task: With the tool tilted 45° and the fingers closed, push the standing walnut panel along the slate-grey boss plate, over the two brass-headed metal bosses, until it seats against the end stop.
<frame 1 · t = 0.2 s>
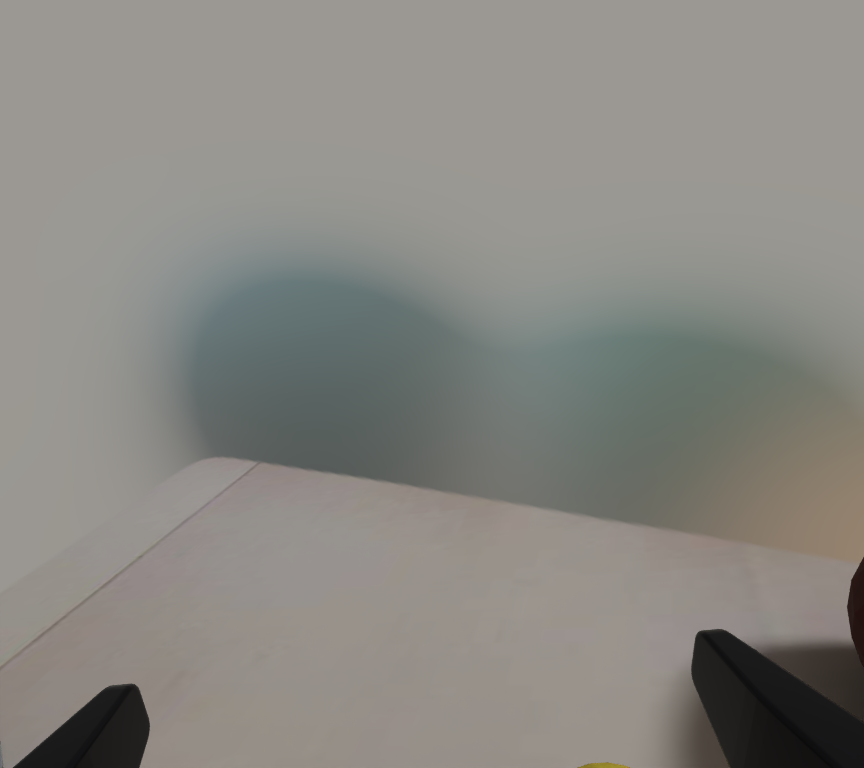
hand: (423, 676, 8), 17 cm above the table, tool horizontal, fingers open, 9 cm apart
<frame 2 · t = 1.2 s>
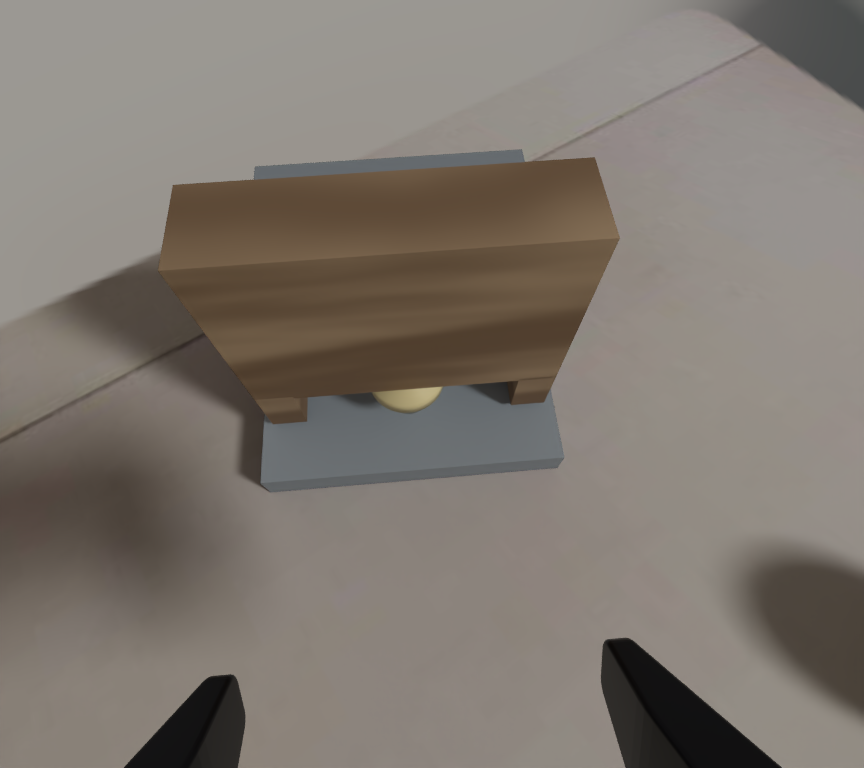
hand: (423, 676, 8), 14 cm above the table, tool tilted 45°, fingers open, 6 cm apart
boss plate: (405, 354, 27), on the table
panel: (400, 318, 19), point 7 cm above the table, slide at 0.0 cm
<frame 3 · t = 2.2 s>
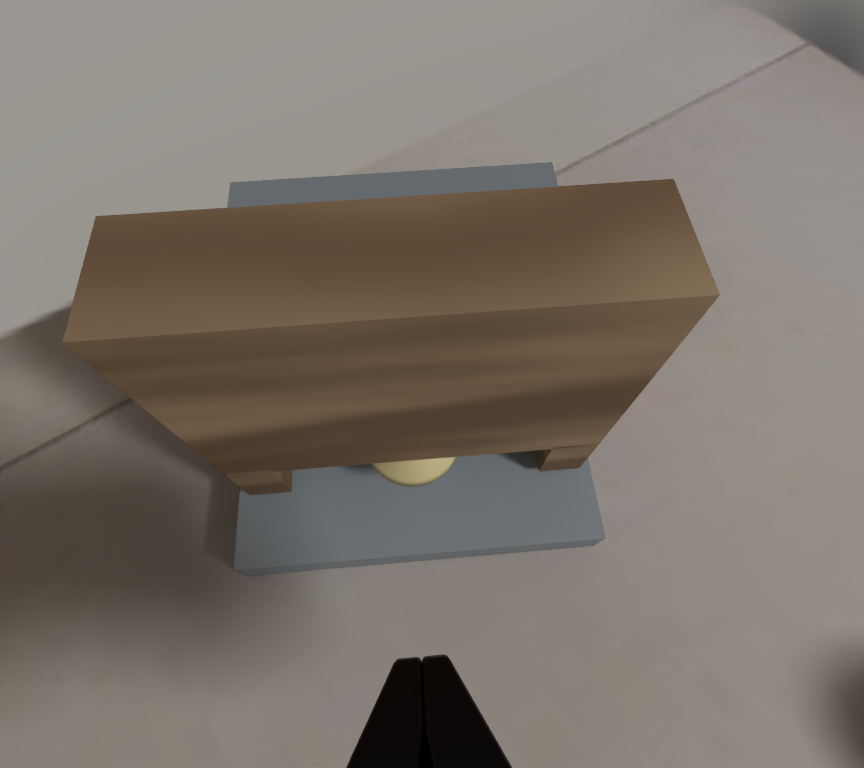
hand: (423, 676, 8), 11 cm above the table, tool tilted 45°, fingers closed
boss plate: (411, 402, 23), on the table
panel: (406, 378, 15), point 7 cm above the table, slide at 0.0 cm
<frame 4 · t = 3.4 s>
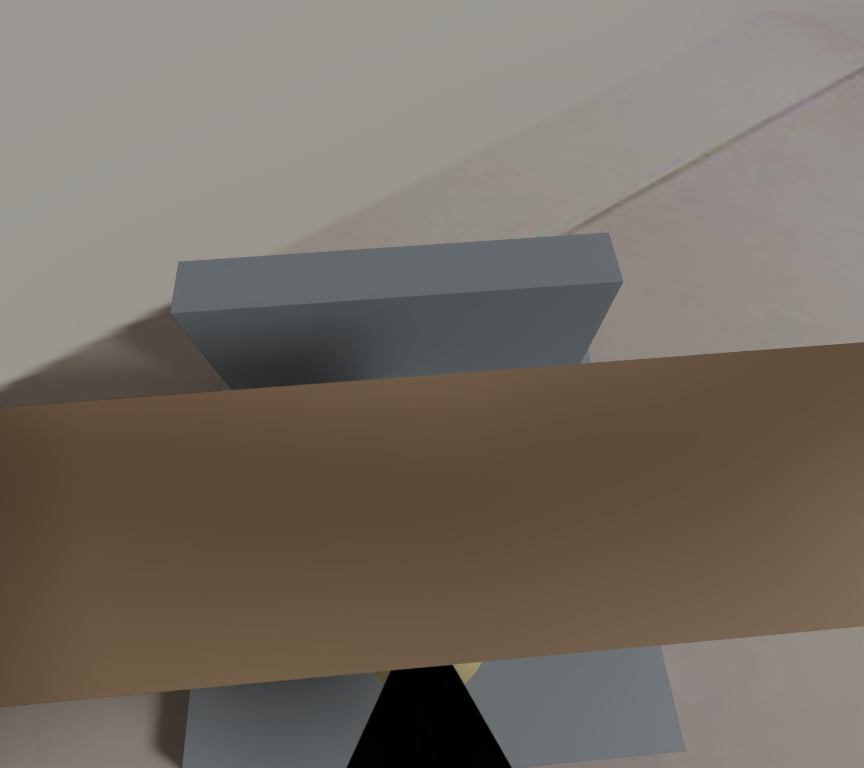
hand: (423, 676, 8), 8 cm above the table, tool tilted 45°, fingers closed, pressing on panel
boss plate: (419, 528, 18), on the table
panel: (417, 569, 10), point 7 cm above the table, slide at 0.4 cm, touching gripper
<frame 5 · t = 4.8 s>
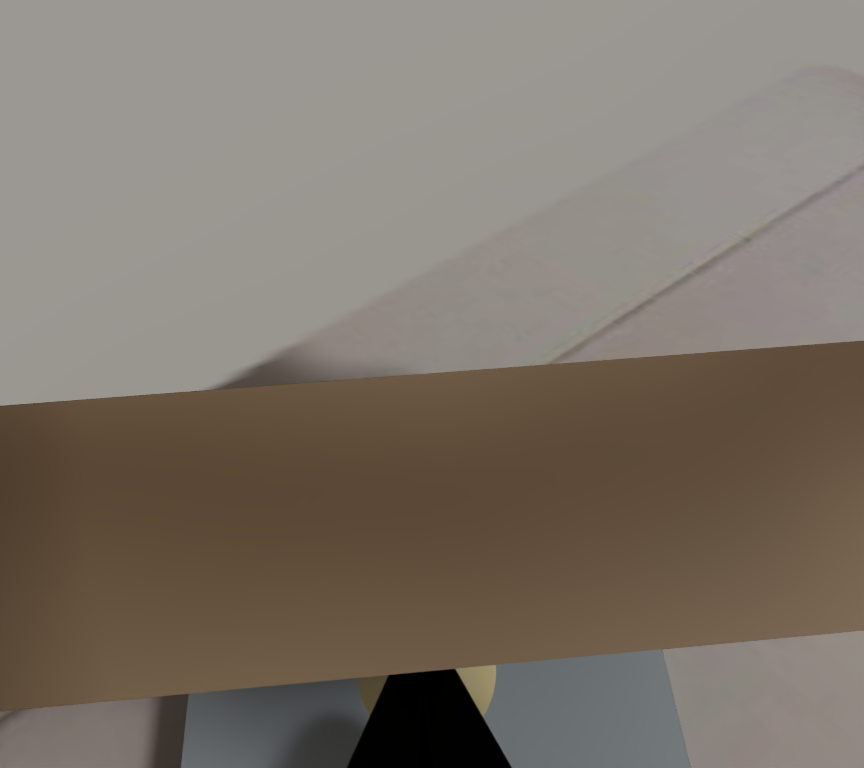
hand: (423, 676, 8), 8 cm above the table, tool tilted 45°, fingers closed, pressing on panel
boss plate: (432, 718, 15), on the table
panel: (417, 569, 10), point 7 cm above the table, slide at 5.8 cm, touching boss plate, gripper
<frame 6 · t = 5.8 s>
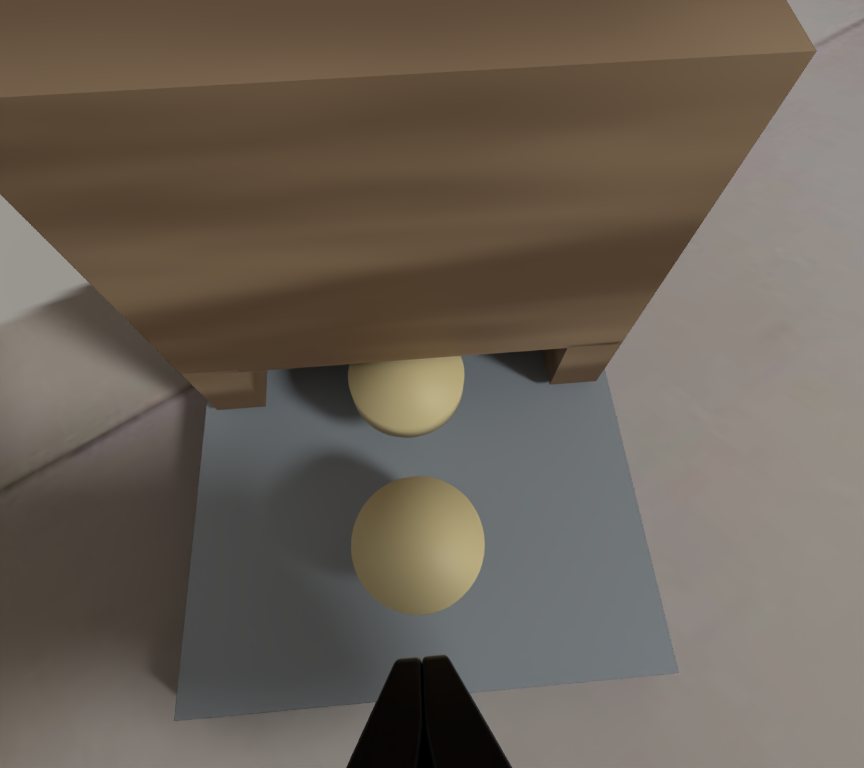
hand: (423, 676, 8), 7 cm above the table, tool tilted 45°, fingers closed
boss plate: (414, 466, 18), on the table
panel: (395, 247, 12), point 7 cm above the table, slide at 5.8 cm, touching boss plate
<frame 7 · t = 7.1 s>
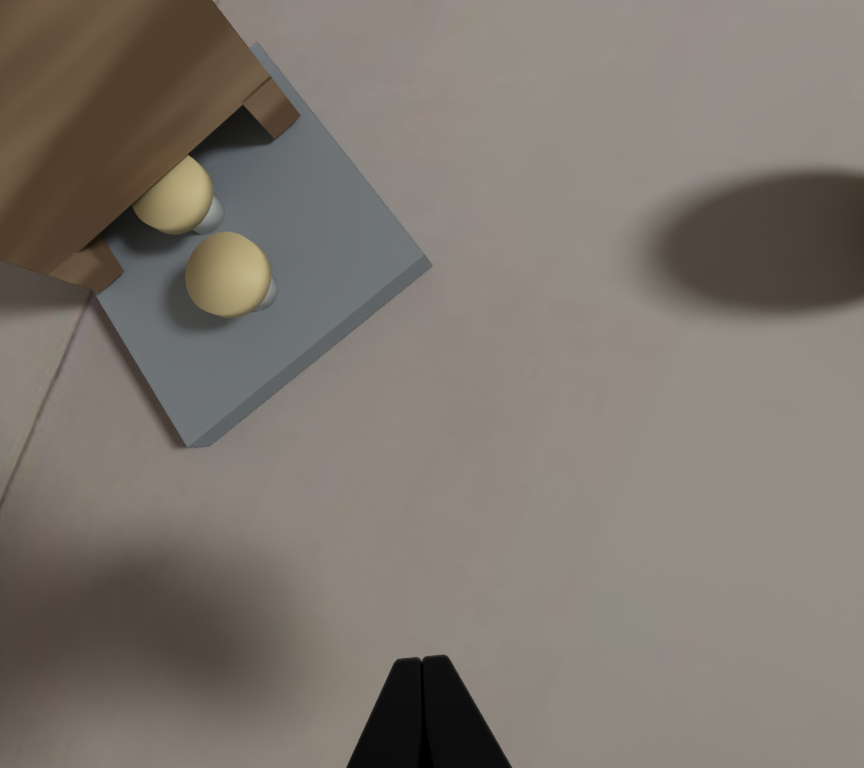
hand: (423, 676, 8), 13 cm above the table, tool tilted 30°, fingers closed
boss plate: (242, 250, 25), on the table
panel: (78, 111, 18), point 7 cm above the table, slide at 5.8 cm, touching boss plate
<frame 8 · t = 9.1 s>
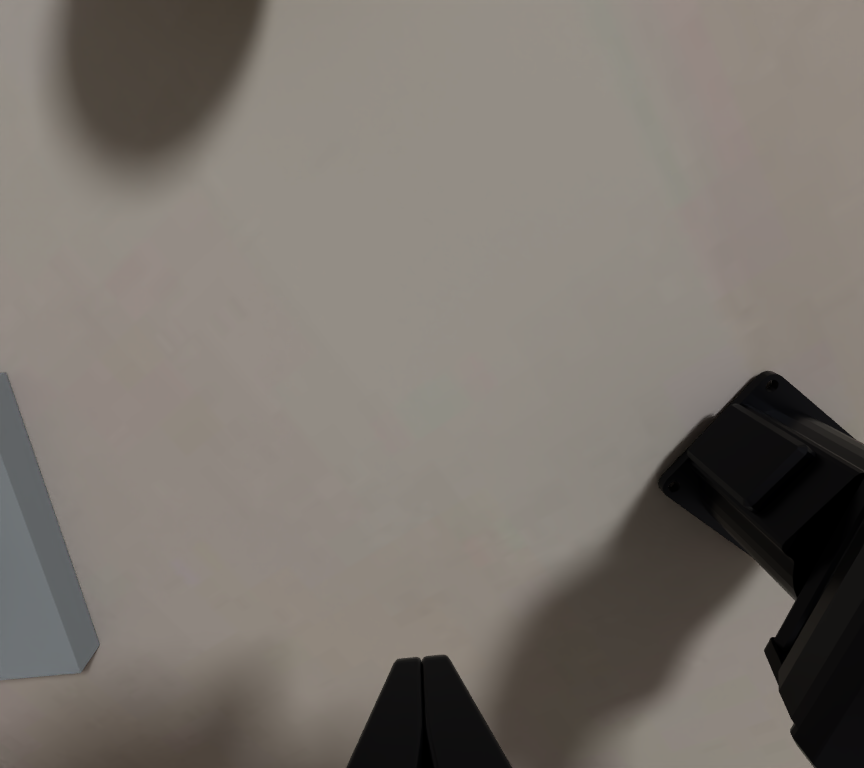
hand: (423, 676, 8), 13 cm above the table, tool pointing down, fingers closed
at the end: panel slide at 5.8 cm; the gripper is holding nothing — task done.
